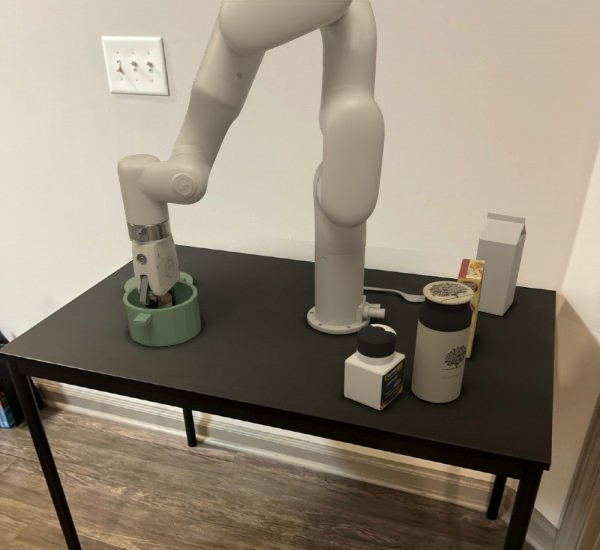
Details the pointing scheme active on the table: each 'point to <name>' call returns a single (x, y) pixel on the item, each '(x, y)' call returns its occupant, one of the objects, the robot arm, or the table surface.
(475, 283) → the candy box
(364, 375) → the medicine bottle
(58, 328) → the table surface
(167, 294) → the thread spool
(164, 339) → the pot
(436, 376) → the travel mug
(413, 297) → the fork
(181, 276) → the pot lid
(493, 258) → the milk carton
